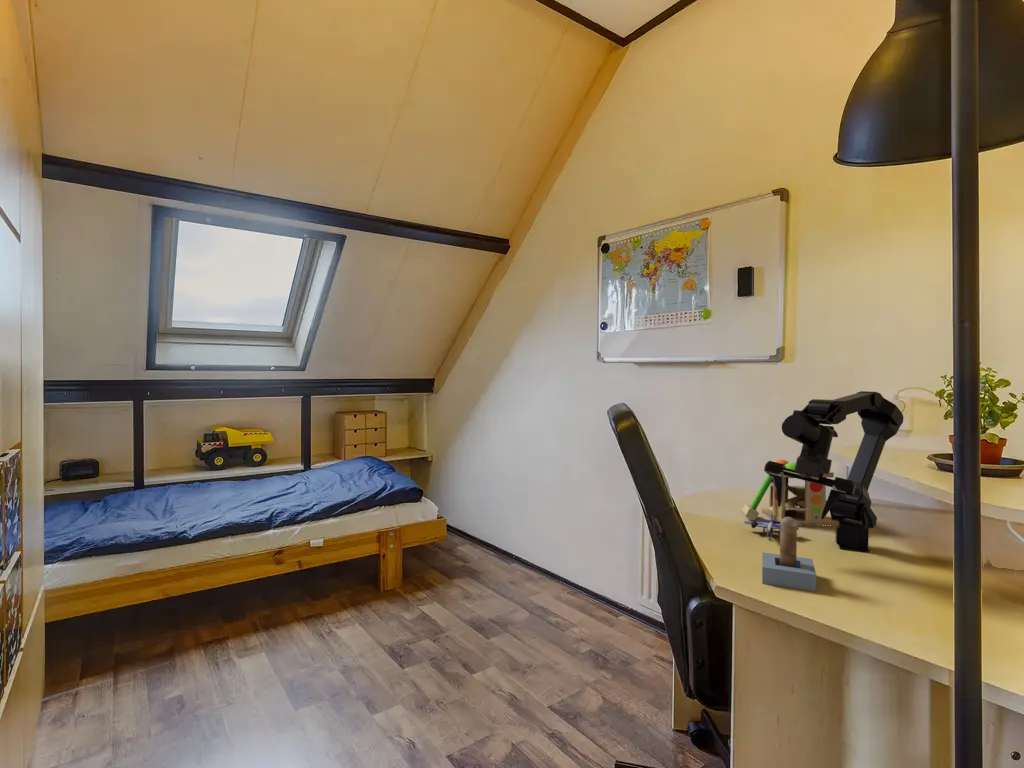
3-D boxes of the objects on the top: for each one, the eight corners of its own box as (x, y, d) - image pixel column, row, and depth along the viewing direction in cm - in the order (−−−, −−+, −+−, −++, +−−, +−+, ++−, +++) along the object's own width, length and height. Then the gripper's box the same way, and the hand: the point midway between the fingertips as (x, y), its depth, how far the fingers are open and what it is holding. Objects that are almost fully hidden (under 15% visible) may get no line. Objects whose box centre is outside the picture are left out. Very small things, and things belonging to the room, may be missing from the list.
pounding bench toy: (753, 526, 154) (754, 465, 154) (734, 512, 169) (735, 456, 168) (833, 526, 154) (835, 465, 153) (807, 513, 168) (808, 457, 167)
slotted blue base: (811, 574, 118) (812, 558, 118) (816, 591, 109) (816, 574, 109) (762, 567, 122) (762, 552, 122) (762, 583, 113) (762, 567, 113)
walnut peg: (792, 576, 117) (793, 515, 117) (798, 582, 114) (799, 519, 113) (777, 575, 117) (778, 514, 117) (782, 581, 114) (783, 519, 114)
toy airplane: (767, 546, 137) (767, 532, 137) (734, 530, 150) (734, 517, 150) (811, 543, 139) (811, 529, 139) (774, 527, 153) (774, 515, 153)
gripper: (768, 433, 127) (752, 497, 125) (860, 453, 116) (844, 523, 114) (775, 442, 136) (760, 502, 134) (861, 461, 125) (846, 526, 123)
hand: (800, 512), depth 126 cm, fingers open, 9 cm apart
